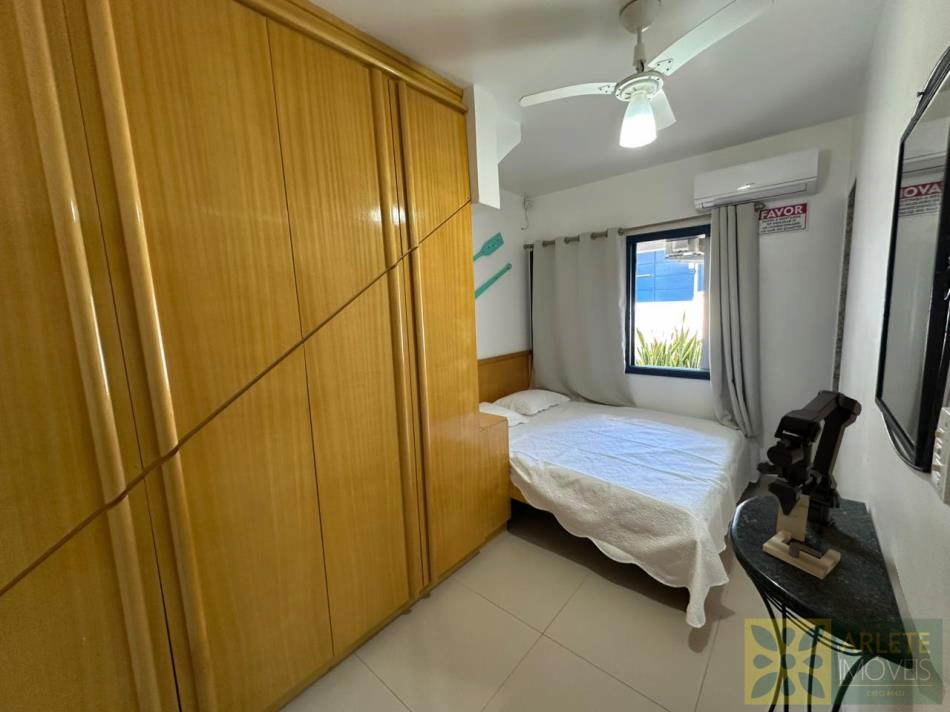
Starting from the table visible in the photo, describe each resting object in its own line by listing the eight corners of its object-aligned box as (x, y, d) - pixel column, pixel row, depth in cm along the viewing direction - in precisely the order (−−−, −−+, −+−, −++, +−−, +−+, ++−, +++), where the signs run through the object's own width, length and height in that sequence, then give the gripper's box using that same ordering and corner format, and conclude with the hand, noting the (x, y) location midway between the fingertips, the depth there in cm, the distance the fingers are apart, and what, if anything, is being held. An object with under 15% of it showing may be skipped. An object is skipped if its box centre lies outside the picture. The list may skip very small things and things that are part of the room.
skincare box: (775, 533, 103) (778, 494, 101) (777, 526, 106) (780, 488, 104) (805, 542, 98) (809, 501, 97) (806, 534, 101) (809, 495, 100)
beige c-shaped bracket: (781, 535, 102) (783, 517, 101) (839, 560, 91) (842, 540, 90) (762, 551, 96) (764, 532, 95) (822, 579, 85) (824, 558, 85)
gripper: (776, 442, 111) (772, 488, 113) (747, 456, 101) (744, 507, 103) (824, 453, 101) (819, 504, 103) (797, 471, 92) (793, 526, 94)
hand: (792, 509), depth 101 cm, fingers open, 9 cm apart
